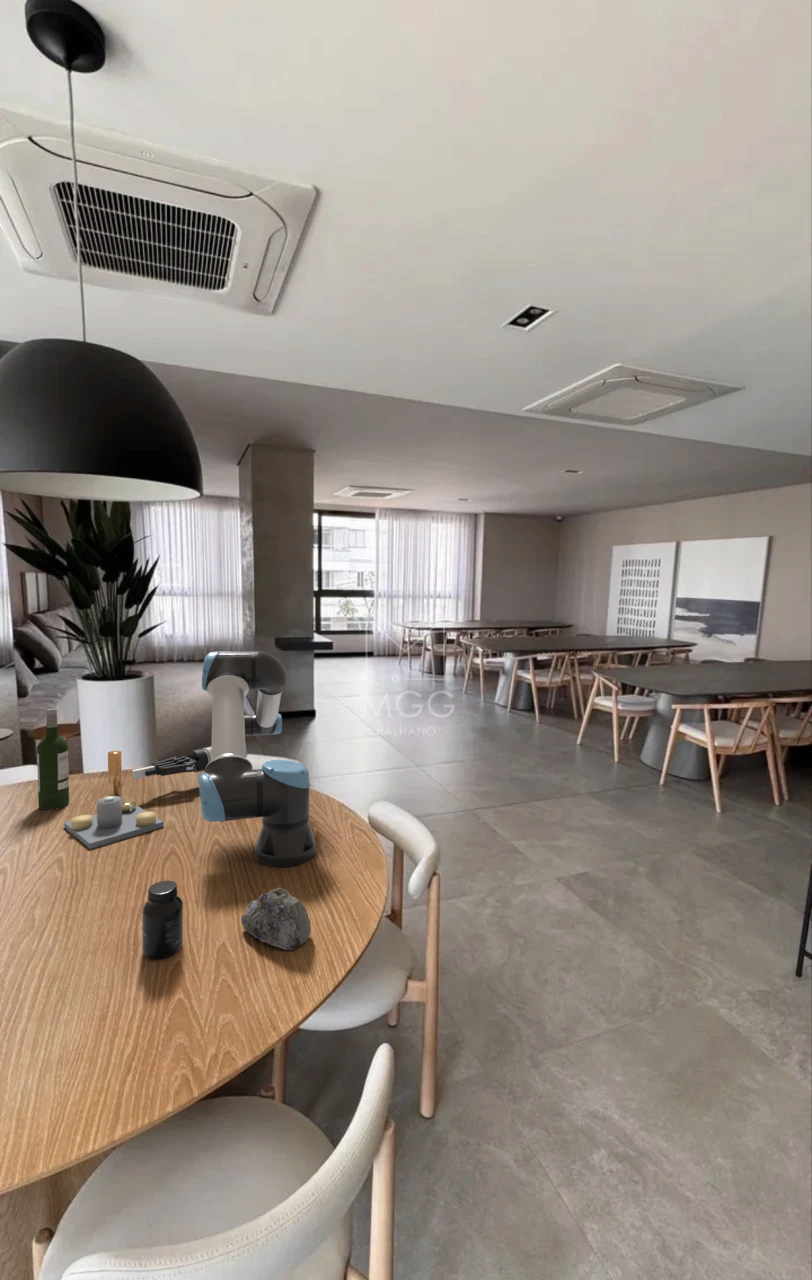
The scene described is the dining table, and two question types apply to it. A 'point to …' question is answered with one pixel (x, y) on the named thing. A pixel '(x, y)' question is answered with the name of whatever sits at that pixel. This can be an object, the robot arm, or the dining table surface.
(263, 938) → the mineral rock
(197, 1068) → the dining table surface
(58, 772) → the wine bottle
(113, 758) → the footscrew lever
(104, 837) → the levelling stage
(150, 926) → the supplement bottle
